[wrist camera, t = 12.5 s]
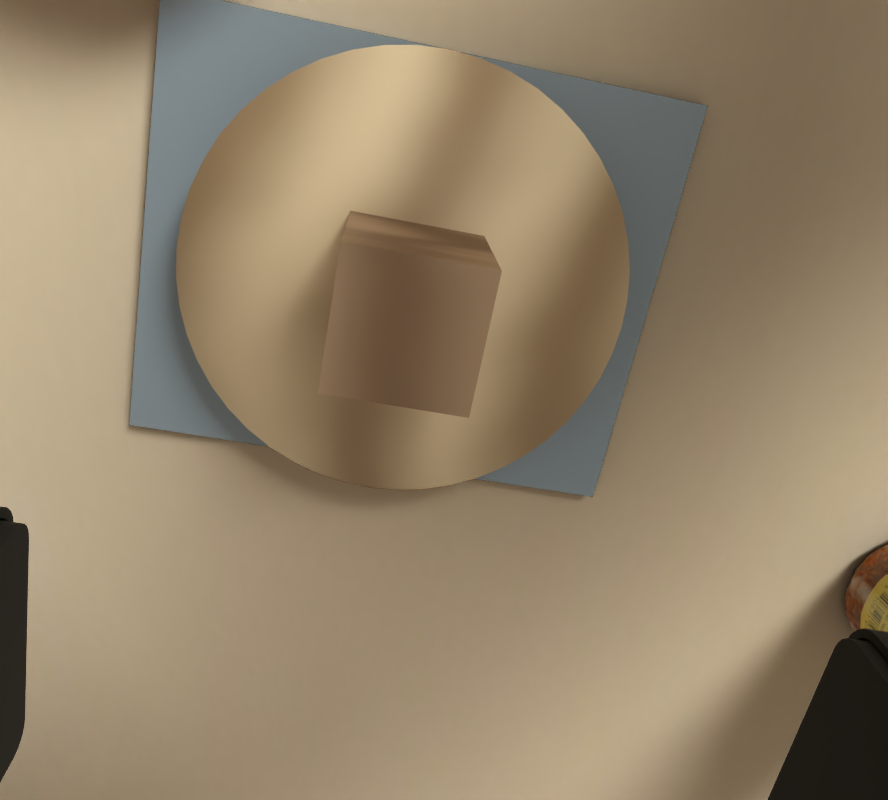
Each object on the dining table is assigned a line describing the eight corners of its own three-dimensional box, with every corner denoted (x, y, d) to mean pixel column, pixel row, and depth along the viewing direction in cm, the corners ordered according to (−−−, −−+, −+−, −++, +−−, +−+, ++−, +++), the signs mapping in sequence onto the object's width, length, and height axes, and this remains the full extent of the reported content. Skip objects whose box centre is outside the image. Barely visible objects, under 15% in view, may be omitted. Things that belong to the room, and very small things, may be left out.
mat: (702, 105, 29) (707, 105, 29) (590, 491, 34) (592, 496, 34) (164, -12, 27) (160, -13, 26) (133, 419, 32) (129, 424, 32)
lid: (666, 97, 28) (747, 107, 22) (558, 491, 34) (597, 595, 27) (211, -1, 27) (151, -20, 20) (172, 432, 32) (115, 527, 25)
